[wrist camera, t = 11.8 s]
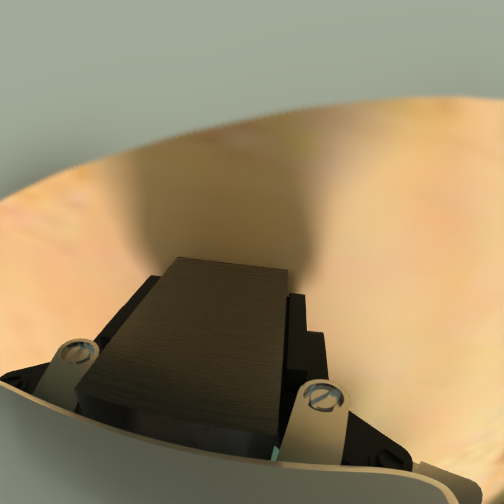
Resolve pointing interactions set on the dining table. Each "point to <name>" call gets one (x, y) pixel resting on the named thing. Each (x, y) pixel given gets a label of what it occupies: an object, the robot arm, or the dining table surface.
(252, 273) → the grey long piece
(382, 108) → the dining table surface
